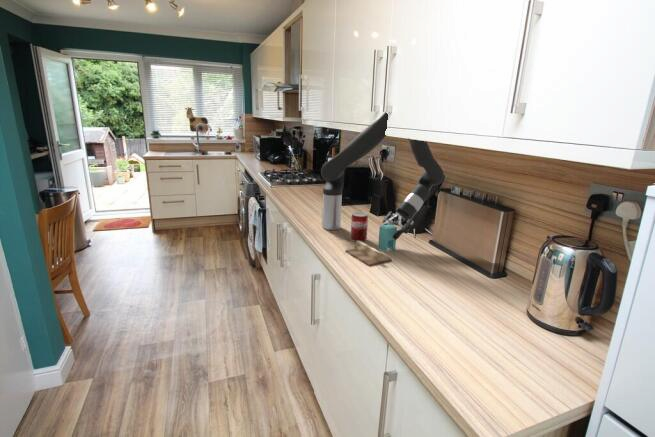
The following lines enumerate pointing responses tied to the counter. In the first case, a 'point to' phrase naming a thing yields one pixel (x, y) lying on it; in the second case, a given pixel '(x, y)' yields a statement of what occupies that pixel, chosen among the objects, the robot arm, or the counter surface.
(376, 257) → the rail board
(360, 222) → the soda can
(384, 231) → the notched post
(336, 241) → the counter surface
